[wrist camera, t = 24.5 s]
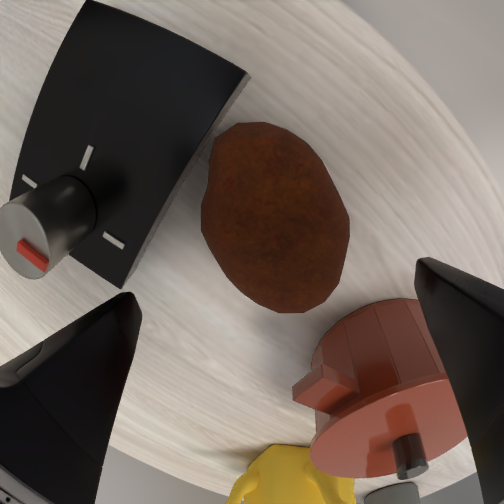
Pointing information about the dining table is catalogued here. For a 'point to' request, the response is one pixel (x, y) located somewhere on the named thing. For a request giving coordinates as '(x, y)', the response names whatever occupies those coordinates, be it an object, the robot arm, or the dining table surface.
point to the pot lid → (391, 431)
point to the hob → (124, 127)
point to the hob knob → (45, 225)
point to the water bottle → (395, 495)
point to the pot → (368, 357)
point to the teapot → (290, 480)
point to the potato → (274, 218)
